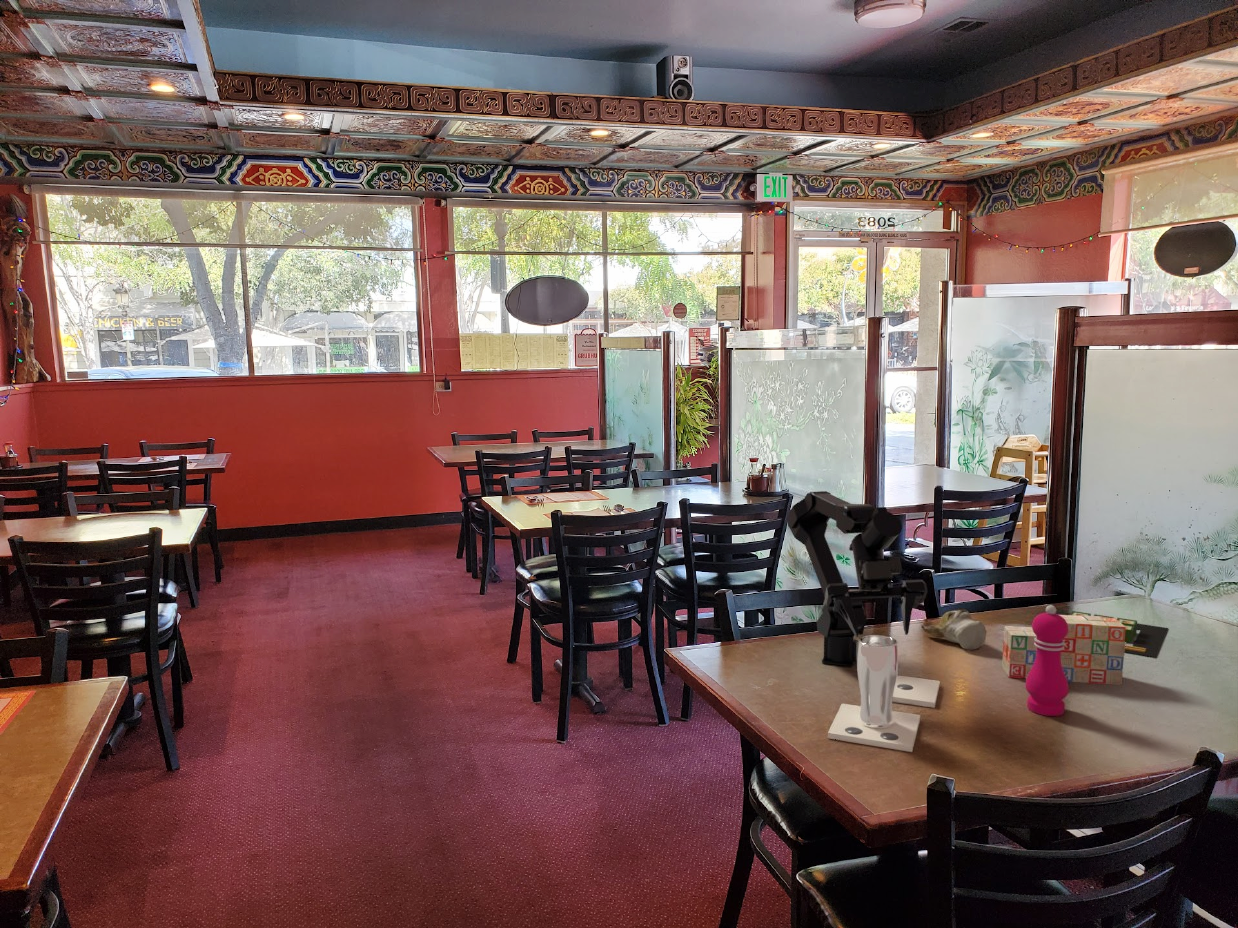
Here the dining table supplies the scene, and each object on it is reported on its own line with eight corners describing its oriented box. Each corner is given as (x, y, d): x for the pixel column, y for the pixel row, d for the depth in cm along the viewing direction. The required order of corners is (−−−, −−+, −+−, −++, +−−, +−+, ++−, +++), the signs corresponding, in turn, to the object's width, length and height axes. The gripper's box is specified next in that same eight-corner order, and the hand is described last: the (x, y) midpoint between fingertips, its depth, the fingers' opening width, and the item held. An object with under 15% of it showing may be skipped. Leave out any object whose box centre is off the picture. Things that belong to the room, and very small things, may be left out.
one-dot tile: (869, 698, 172) (869, 693, 172) (877, 677, 183) (877, 672, 183) (934, 707, 167) (935, 702, 167) (939, 685, 178) (939, 680, 178)
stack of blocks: (1008, 678, 182) (1011, 620, 180) (1001, 667, 188) (1004, 611, 186) (1122, 685, 178) (1126, 625, 176) (1112, 674, 184) (1115, 616, 182)
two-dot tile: (827, 738, 154) (827, 732, 154) (841, 708, 167) (841, 703, 167) (912, 752, 149) (912, 746, 149) (920, 720, 161) (920, 714, 161)
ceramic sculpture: (960, 616, 195) (918, 602, 209) (960, 655, 195) (918, 638, 209) (1001, 612, 198) (957, 598, 212) (1000, 650, 198) (956, 634, 213)
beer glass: (886, 733, 154) (889, 649, 152) (849, 723, 158) (851, 641, 156) (902, 720, 159) (905, 639, 157) (865, 710, 163) (867, 631, 161)
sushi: (1031, 639, 207) (1032, 624, 207) (1053, 614, 227) (1054, 599, 227) (1155, 661, 193) (1156, 644, 192) (1167, 631, 213) (1168, 616, 212)
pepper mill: (1016, 702, 169) (1021, 600, 166) (1053, 701, 170) (1058, 599, 167) (1037, 718, 162) (1043, 611, 159) (1075, 716, 162) (1081, 610, 160)
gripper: (825, 544, 171) (835, 619, 162) (924, 539, 169) (940, 615, 161) (820, 570, 180) (830, 643, 172) (915, 566, 179) (929, 639, 170)
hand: (882, 634), depth 168 cm, fingers open, 9 cm apart
